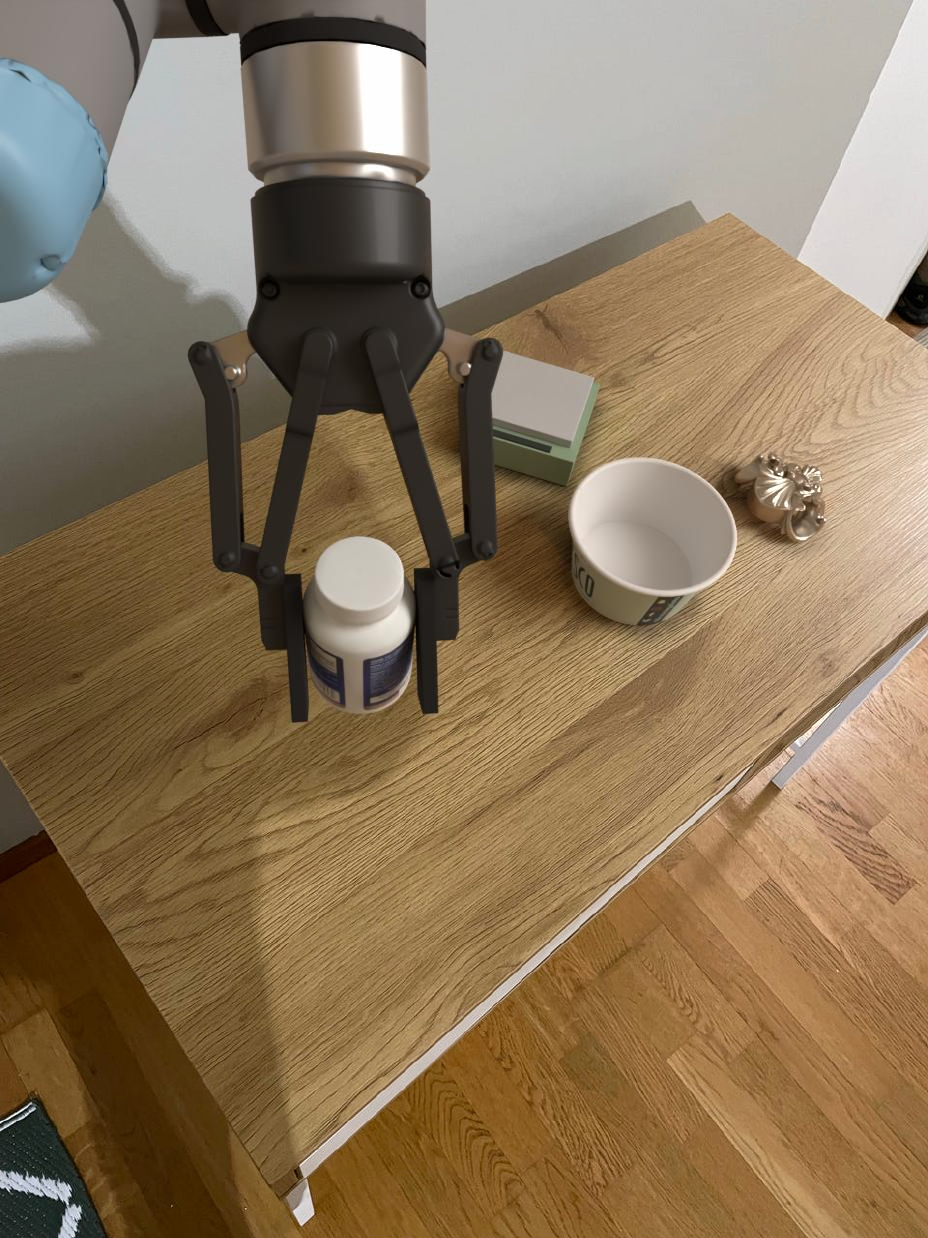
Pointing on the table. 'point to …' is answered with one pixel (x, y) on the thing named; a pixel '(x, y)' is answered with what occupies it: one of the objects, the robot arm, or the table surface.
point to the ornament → (784, 495)
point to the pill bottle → (359, 625)
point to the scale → (540, 417)
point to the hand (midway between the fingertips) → (364, 707)
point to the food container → (647, 538)
